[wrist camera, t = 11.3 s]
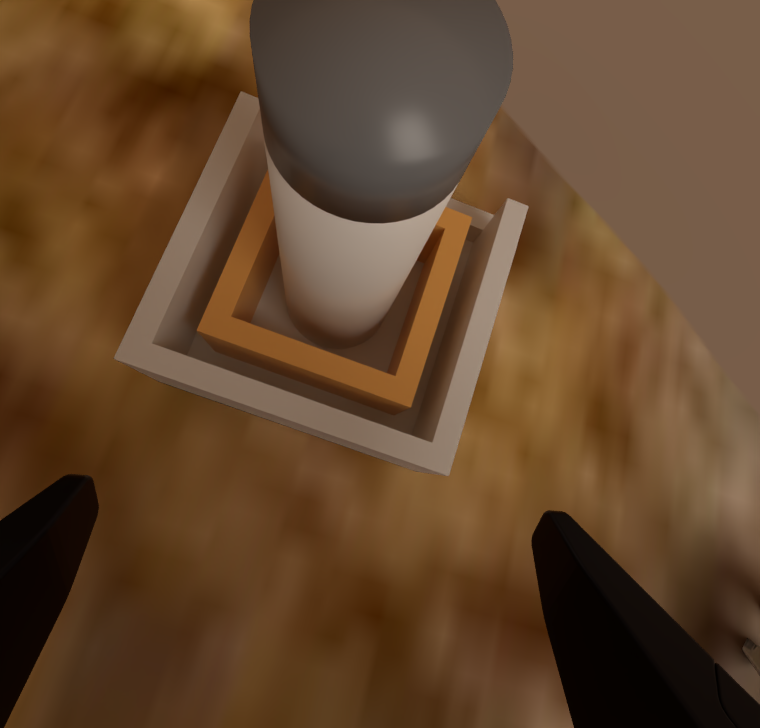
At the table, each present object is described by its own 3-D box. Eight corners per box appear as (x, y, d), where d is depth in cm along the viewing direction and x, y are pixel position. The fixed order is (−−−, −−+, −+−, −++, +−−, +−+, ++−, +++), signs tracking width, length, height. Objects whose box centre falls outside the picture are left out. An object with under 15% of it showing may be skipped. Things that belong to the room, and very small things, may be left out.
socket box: (416, 471, 20) (448, 476, 15) (158, 381, 19) (113, 358, 14) (488, 240, 22) (534, 187, 18) (261, 151, 21) (249, 72, 17)
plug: (345, 369, 19) (412, 211, 7) (264, 305, 19) (189, 35, 7) (406, 294, 20) (559, 40, 8) (329, 233, 20) (364, -115, 8)
